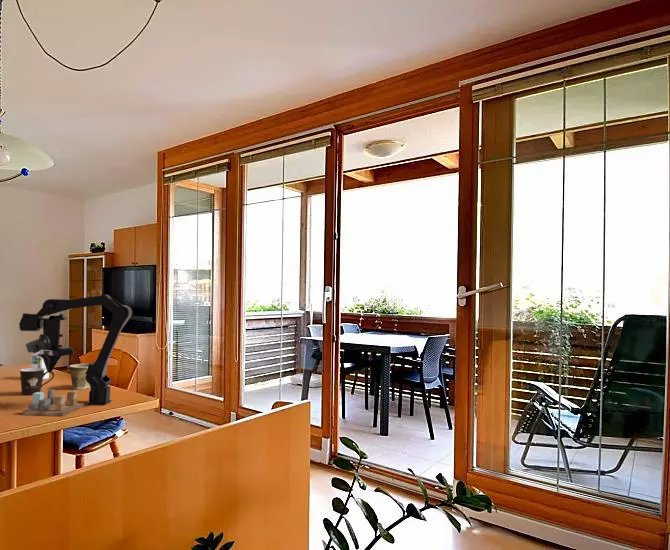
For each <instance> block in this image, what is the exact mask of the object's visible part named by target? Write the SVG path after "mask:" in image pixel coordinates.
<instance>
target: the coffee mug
mask: <svg viewBox="0 0 670 550" xmlns="http://www.w3.org/2000/svg"><path fill="white" fill-rule="evenodd" d="M44 370H45V369H44V368H31V367H28V368H27V367H26V368H22V369H20V370H19V373H20V387H21V395H22V396H27V395H28V396H33V393H36V392H42V391H41V389H42V388H43V386H45V385H46V384H48V383H50V382H51V381H52V380H53V379H54V377H55V373H54V372H50V373H49V374H52V377H51V378H50V379H49V380H47V381H45V382H44V383H43V377H44V376H45V374H46V373H48V372H45V373H44Z"/></svg>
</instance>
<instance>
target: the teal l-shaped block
mask: <svg viewBox="0 0 670 550" xmlns="http://www.w3.org/2000/svg"><path fill="white" fill-rule="evenodd" d="M44 398H45V391H44V392H43V391H40V392H36V393H33V395H32V403H31V404H32V405H39V400H42V399H44Z"/></svg>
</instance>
